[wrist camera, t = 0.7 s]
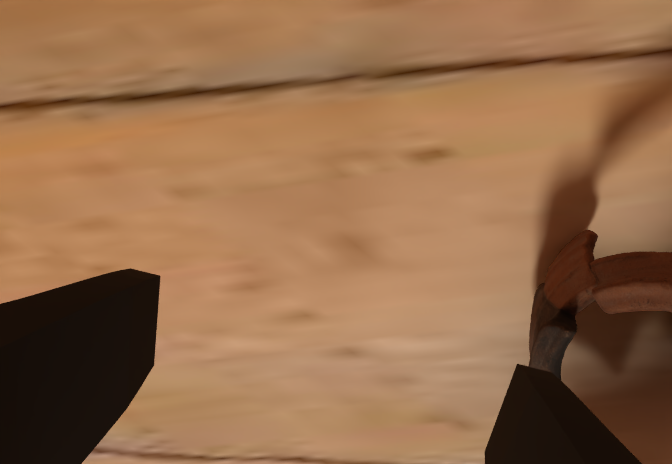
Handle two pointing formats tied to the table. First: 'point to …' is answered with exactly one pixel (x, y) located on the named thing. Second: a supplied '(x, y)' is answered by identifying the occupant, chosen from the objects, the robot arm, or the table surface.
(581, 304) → the pottery mug
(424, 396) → the table surface
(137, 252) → the table surface
